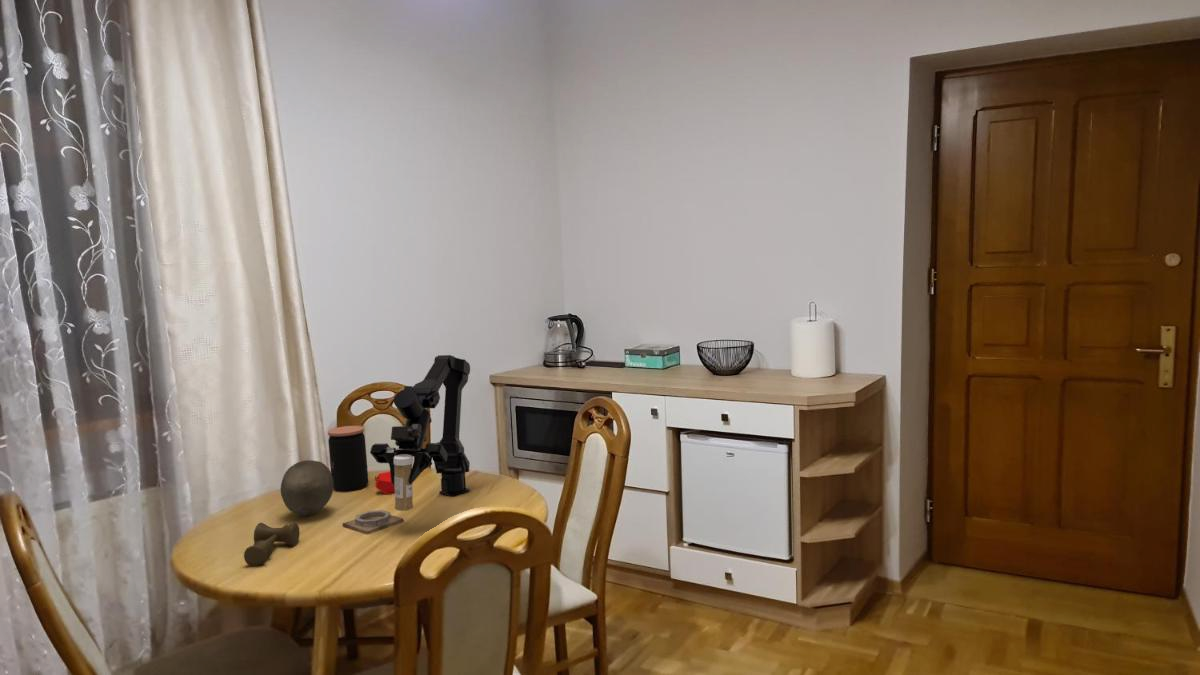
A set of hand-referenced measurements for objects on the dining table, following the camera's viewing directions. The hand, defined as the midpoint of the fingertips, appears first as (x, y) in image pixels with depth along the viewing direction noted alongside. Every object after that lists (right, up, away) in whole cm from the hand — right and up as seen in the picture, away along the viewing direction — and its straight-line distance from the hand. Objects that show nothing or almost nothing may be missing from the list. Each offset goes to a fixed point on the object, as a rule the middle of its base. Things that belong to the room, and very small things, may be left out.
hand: (401, 483), depth 196 cm
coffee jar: (-27, -10, +47) cm, 55 cm away
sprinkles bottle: (0, -7, +2) cm, 7 cm away
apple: (-14, -10, +40) cm, 43 cm away
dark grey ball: (-30, -13, +21) cm, 39 cm away
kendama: (-30, -16, -5) cm, 34 cm away
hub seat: (-10, -13, +11) cm, 19 cm away
